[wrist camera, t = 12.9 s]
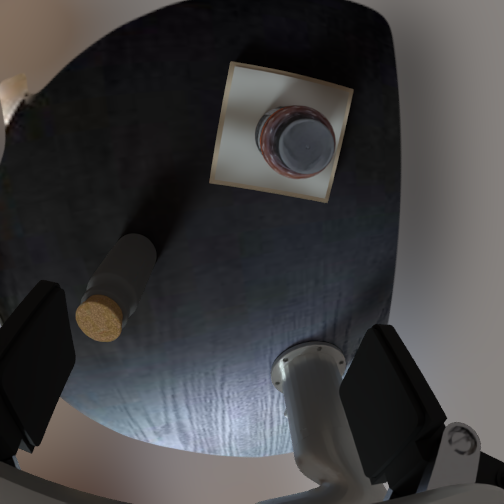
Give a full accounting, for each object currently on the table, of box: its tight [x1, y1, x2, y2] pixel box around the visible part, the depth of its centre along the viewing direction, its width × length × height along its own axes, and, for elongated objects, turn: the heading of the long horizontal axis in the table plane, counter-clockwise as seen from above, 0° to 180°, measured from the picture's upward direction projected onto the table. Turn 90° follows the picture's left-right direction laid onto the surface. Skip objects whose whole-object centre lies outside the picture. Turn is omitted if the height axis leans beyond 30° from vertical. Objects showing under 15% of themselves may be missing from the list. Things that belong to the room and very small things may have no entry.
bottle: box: [76, 233, 157, 342], centre depth 34 cm, size 6×6×15 cm
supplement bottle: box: [255, 105, 336, 179], centre depth 26 cm, size 6×6×11 cm
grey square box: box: [209, 62, 354, 203], centre depth 33 cm, size 13×13×4 cm
